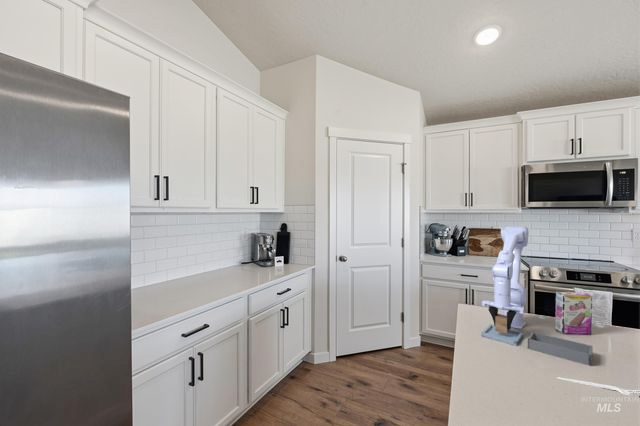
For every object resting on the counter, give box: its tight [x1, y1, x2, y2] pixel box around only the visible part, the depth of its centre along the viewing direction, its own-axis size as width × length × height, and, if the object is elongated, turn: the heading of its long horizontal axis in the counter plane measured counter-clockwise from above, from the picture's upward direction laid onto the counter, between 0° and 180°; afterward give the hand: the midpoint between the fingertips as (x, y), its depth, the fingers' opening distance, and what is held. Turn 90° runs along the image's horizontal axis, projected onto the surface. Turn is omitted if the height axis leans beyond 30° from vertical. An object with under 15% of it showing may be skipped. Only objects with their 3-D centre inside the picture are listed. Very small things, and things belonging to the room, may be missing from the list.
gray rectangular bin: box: [527, 331, 594, 367], centre depth 105 cm, size 9×17×4 cm, turn 45°
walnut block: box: [495, 313, 509, 334], centre depth 118 cm, size 4×4×6 cm
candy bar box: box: [554, 291, 593, 336], centre depth 122 cm, size 11×5×16 cm, turn 84°
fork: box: [556, 376, 640, 396], centre depth 84 cm, size 3×20×2 cm, turn 62°
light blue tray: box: [481, 324, 524, 347], centre depth 118 cm, size 12×12×2 cm
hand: (502, 327), depth 118 cm, fingers closed on walnut block, 4 cm apart
